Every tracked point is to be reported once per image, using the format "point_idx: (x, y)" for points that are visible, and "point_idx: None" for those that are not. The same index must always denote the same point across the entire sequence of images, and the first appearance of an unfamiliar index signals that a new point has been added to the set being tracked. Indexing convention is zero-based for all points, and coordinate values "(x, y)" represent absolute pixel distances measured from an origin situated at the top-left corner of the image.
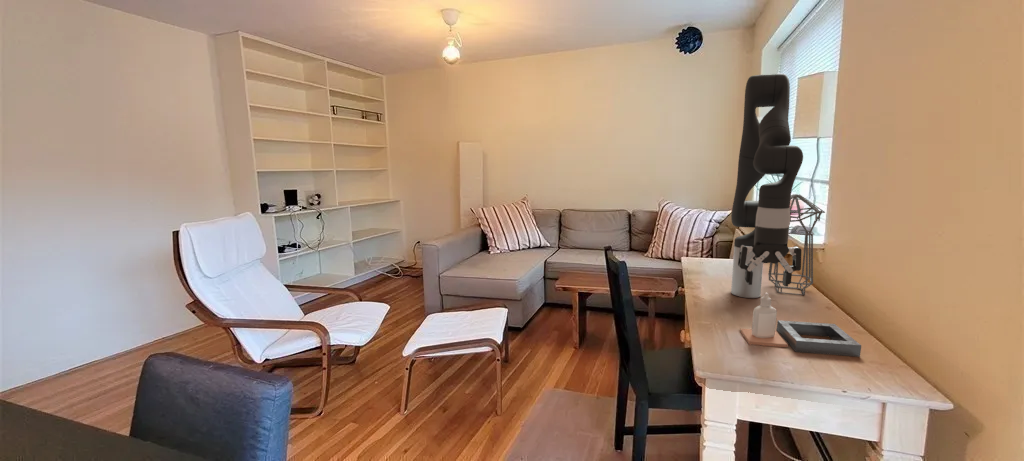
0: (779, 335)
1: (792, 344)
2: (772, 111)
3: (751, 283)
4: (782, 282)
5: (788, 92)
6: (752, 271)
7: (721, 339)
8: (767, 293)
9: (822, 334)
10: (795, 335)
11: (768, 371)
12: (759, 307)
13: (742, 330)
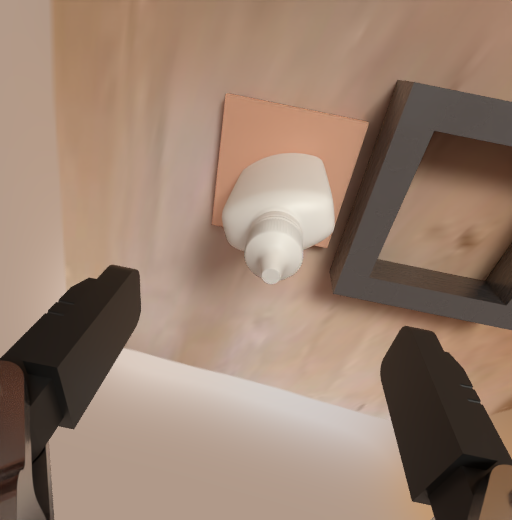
0: (349, 175)
1: (339, 255)
2: None
3: (130, 327)
4: (412, 331)
5: None
6: (70, 419)
7: (135, 180)
8: (274, 282)
9: None
10: (361, 257)
11: (203, 349)
12: (240, 237)
13: (225, 121)
